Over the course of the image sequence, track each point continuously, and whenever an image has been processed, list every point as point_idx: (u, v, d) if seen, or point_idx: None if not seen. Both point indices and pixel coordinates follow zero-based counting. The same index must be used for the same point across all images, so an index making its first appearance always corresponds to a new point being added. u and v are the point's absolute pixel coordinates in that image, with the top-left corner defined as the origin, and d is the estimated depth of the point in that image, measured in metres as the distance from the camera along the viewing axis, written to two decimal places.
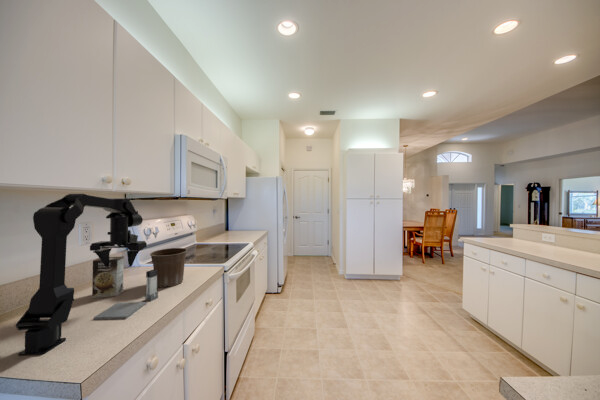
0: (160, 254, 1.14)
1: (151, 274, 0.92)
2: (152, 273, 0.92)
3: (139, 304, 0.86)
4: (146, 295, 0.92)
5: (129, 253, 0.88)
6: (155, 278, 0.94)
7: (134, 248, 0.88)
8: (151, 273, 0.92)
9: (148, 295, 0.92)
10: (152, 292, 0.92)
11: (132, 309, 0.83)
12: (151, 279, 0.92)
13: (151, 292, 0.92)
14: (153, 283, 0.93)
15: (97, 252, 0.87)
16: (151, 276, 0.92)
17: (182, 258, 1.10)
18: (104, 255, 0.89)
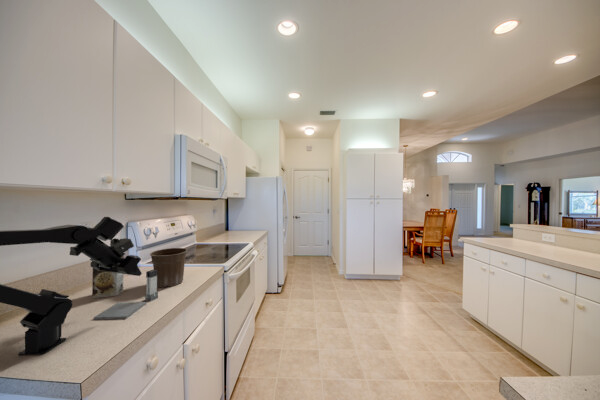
0: (160, 254, 1.14)
1: (151, 274, 0.92)
2: (152, 273, 0.92)
3: (139, 304, 0.86)
4: (146, 295, 0.92)
5: None
6: (155, 278, 0.94)
7: (125, 273, 0.75)
8: (151, 273, 0.92)
9: (148, 295, 0.92)
10: (152, 292, 0.92)
11: (132, 309, 0.83)
12: (151, 279, 0.92)
13: (151, 292, 0.92)
14: (153, 283, 0.93)
15: None
16: (151, 276, 0.92)
17: (182, 258, 1.10)
18: (110, 268, 0.83)
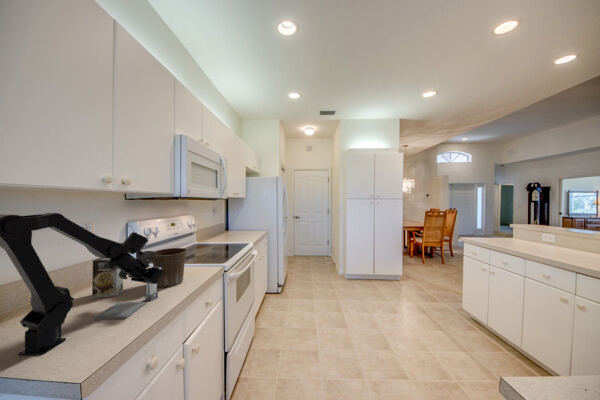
0: (160, 254, 1.14)
1: None
2: None
3: (139, 304, 0.86)
4: (146, 295, 0.92)
5: (145, 282, 0.88)
6: None
7: (151, 283, 0.84)
8: None
9: (148, 295, 0.92)
10: (152, 292, 0.92)
11: (132, 309, 0.83)
12: None
13: (151, 292, 0.92)
14: None
15: (134, 280, 0.89)
16: None
17: (182, 258, 1.10)
18: (142, 279, 0.91)
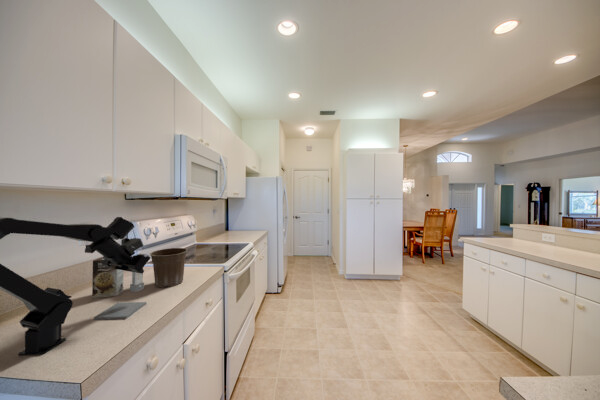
0: (160, 254, 1.14)
1: None
2: None
3: (139, 304, 0.86)
4: (131, 285, 0.86)
5: (130, 271, 0.83)
6: None
7: (135, 270, 0.79)
8: None
9: (133, 285, 0.86)
10: (137, 282, 0.87)
11: (132, 309, 0.83)
12: None
13: (136, 282, 0.86)
14: (139, 273, 0.87)
15: (118, 269, 0.84)
16: None
17: (182, 258, 1.10)
18: (126, 268, 0.85)
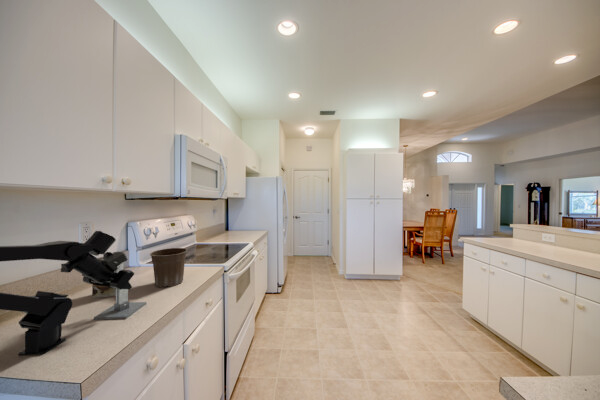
0: (160, 254, 1.14)
1: None
2: None
3: (139, 304, 0.86)
4: (115, 305, 0.82)
5: None
6: None
7: (117, 288, 0.74)
8: None
9: (117, 305, 0.81)
10: (122, 301, 0.82)
11: (132, 309, 0.83)
12: None
13: (121, 301, 0.82)
14: (123, 291, 0.82)
15: None
16: None
17: (182, 258, 1.10)
18: (107, 283, 0.81)
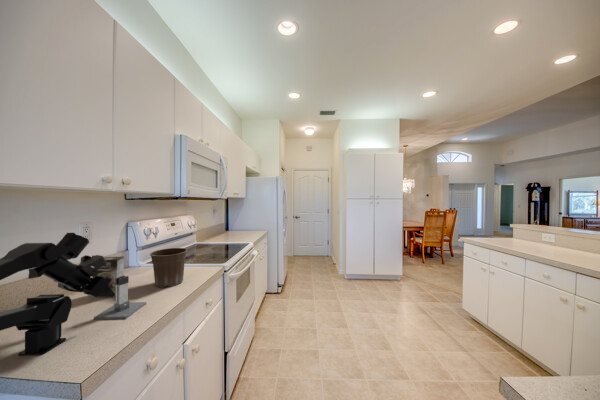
0: (160, 254, 1.14)
1: (121, 281, 0.81)
2: (122, 280, 0.82)
3: (139, 304, 0.86)
4: (115, 305, 0.82)
5: None
6: (126, 285, 0.83)
7: (92, 296, 0.67)
8: (121, 280, 0.81)
9: (117, 305, 0.81)
10: (122, 301, 0.82)
11: (132, 309, 0.83)
12: (121, 287, 0.82)
13: (121, 301, 0.82)
14: (123, 291, 0.82)
15: None
16: (121, 283, 0.81)
17: (182, 258, 1.10)
18: (81, 289, 0.75)
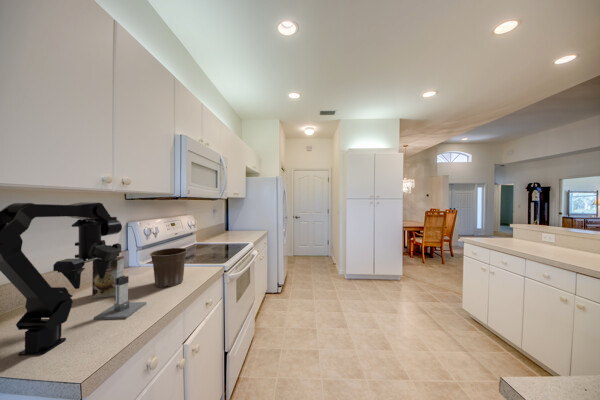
0: (160, 254, 1.14)
1: (121, 281, 0.81)
2: (122, 280, 0.82)
3: (139, 304, 0.86)
4: (115, 305, 0.82)
5: None
6: (126, 285, 0.83)
7: None
8: (121, 280, 0.81)
9: (117, 305, 0.81)
10: (122, 301, 0.82)
11: (132, 309, 0.83)
12: (121, 287, 0.82)
13: (121, 301, 0.82)
14: (123, 291, 0.82)
15: None
16: (121, 283, 0.81)
17: (182, 258, 1.10)
18: (98, 265, 0.81)
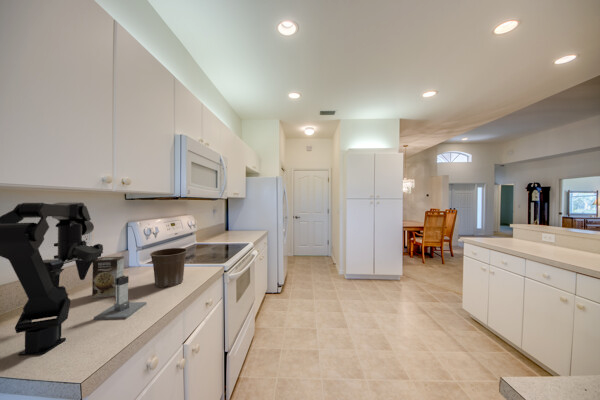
0: (160, 254, 1.14)
1: (121, 281, 0.81)
2: (122, 280, 0.82)
3: (139, 304, 0.86)
4: (115, 305, 0.82)
5: None
6: (126, 285, 0.83)
7: None
8: (121, 280, 0.81)
9: (117, 305, 0.81)
10: (122, 301, 0.82)
11: (132, 309, 0.83)
12: (121, 287, 0.82)
13: (121, 301, 0.82)
14: (123, 291, 0.82)
15: None
16: (121, 283, 0.81)
17: (182, 258, 1.10)
18: (79, 266, 0.80)
